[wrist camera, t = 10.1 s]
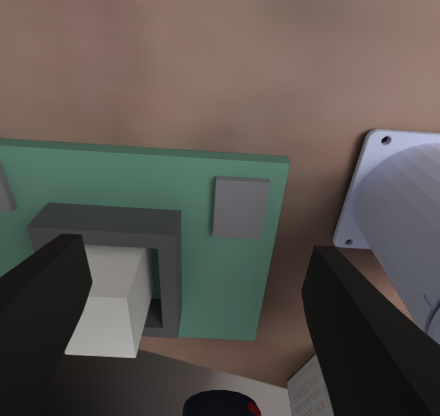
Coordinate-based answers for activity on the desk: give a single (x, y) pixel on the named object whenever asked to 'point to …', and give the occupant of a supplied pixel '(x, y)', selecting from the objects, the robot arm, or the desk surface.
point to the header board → (154, 222)
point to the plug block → (114, 302)
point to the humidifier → (220, 404)
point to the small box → (309, 391)
